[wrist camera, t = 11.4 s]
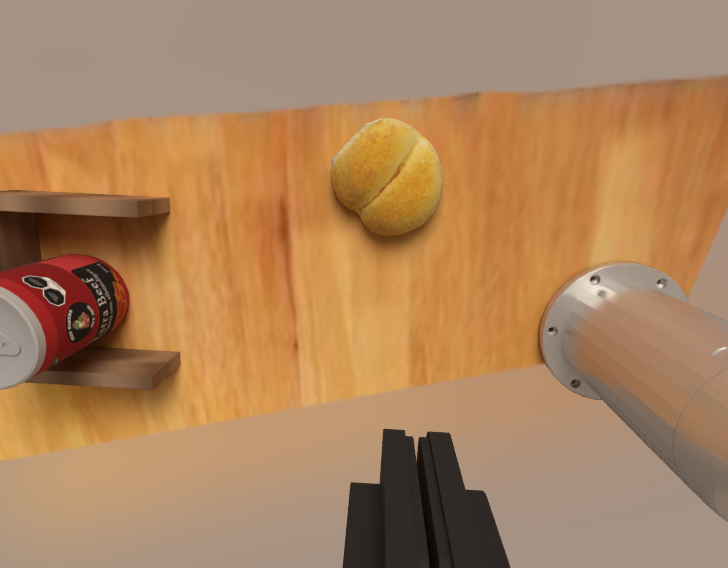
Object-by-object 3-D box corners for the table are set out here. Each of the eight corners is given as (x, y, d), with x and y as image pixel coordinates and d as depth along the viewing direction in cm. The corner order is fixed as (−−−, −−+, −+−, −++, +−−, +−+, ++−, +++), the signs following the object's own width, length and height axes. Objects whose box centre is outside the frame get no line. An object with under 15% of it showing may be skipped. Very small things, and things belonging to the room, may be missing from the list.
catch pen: (169, 197, 36) (136, 201, 31) (180, 363, 40) (153, 389, 35) (17, 190, 36) (-38, 192, 32) (43, 355, 40) (-3, 380, 35)
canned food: (134, 336, 40) (44, 396, 29) (50, 328, 40) (-71, 385, 29) (130, 256, 38) (32, 288, 27) (41, 248, 38) (-92, 276, 27)
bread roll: (392, 250, 37) (393, 259, 33) (317, 176, 36) (309, 176, 32) (463, 181, 35) (474, 182, 31) (387, 100, 34) (388, 90, 30)
